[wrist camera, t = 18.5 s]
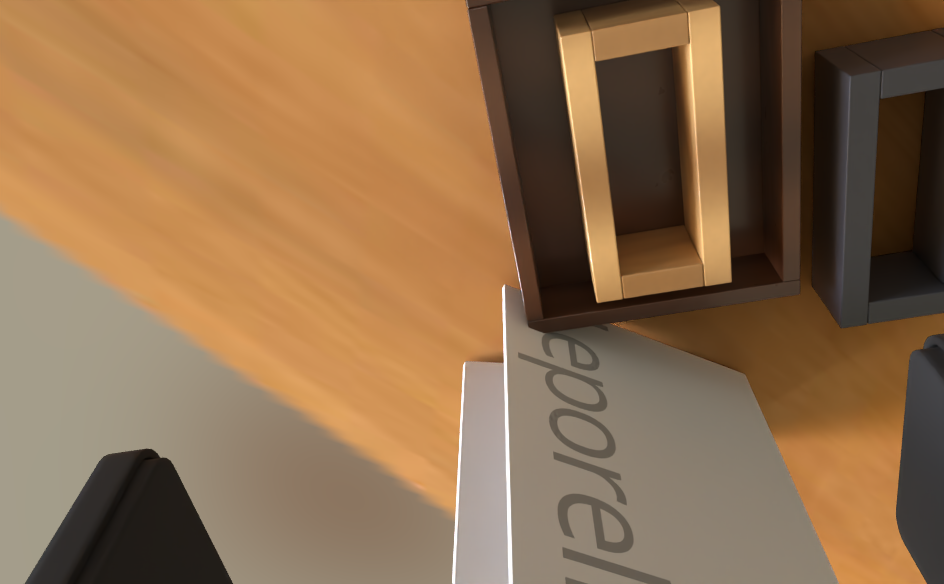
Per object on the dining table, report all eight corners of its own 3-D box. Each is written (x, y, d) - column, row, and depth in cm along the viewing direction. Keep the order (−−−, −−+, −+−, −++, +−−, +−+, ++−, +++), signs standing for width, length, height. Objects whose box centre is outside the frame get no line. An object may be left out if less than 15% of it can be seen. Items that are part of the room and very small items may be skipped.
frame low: (814, 51, 35) (849, 76, 32) (959, 24, 35) (1011, 47, 31) (811, 286, 41) (840, 328, 38) (935, 267, 40) (976, 309, 37)
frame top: (552, 14, 34) (559, 37, 31) (696, -14, 33) (720, 5, 30) (587, 261, 40) (596, 303, 37) (711, 241, 39) (732, 282, 36)
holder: (465, -28, 34) (462, -12, 31) (773, -91, 32) (803, -82, 29) (526, 297, 42) (529, 336, 39) (776, 258, 40) (800, 294, 37)
